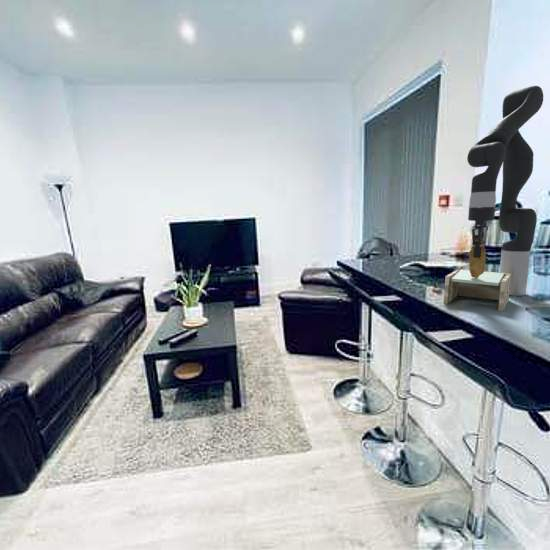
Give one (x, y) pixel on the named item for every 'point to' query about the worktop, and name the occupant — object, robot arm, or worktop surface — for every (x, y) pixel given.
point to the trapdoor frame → (478, 290)
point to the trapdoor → (479, 278)
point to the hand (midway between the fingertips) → (477, 256)
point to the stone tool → (477, 262)
